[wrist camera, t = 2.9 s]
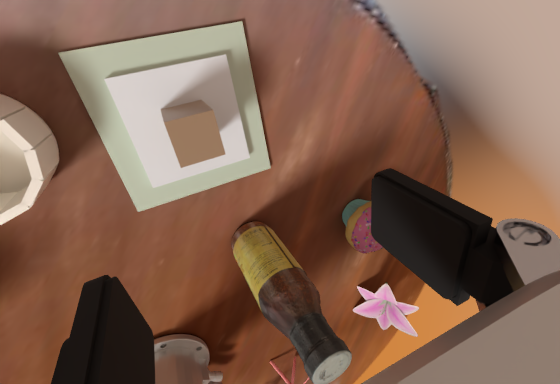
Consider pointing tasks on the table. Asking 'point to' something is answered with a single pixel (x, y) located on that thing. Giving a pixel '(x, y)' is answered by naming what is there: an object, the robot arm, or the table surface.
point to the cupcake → (359, 226)
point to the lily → (386, 309)
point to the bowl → (23, 157)
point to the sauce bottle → (289, 300)
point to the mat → (153, 54)
